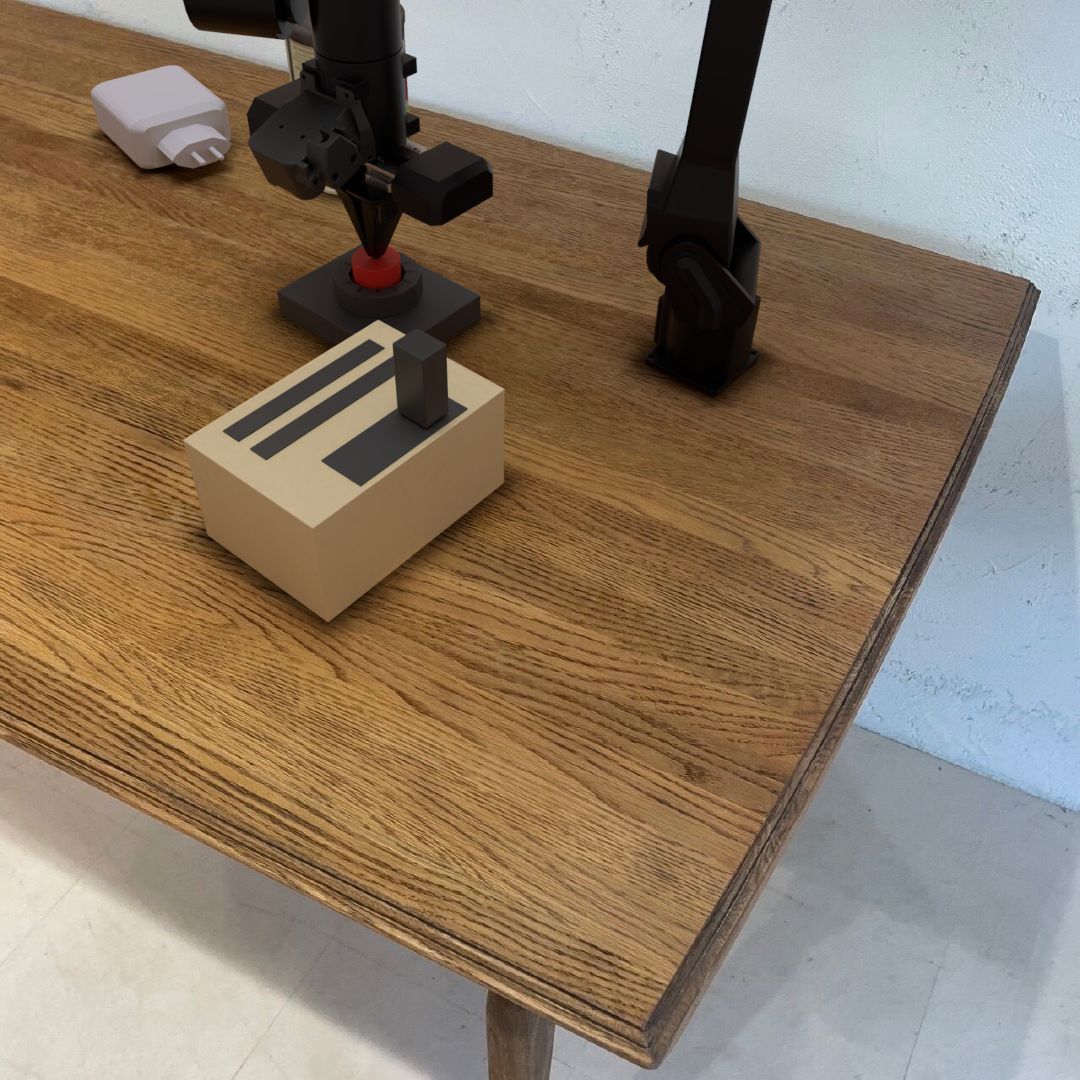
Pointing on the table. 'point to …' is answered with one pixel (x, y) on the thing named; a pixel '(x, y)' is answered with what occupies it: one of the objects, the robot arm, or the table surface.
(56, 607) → the table surface
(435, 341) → the slider
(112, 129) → the charger
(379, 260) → the button
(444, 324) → the control block
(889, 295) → the table surface
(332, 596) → the toaster
